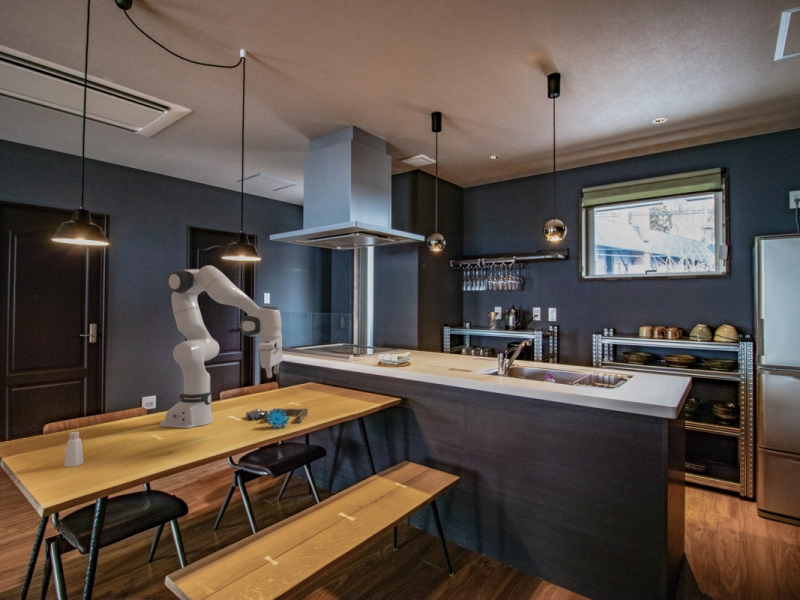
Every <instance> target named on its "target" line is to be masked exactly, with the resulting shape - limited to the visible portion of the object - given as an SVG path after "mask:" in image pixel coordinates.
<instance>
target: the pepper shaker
mask: <svg viewBox="0 0 800 600" xmlns="http://www.w3.org/2000/svg"><path fill="white" fill-rule="evenodd" d="M68 435H69V436H68V438H69V439H68V440H67V443H66V450H65V455H64V457H65V458H64V467H65V468H72V467H77V466H80V465H83V463H84V462H85V461H84V453H83V445H82V444H83V443H82V439H81V438H80V431H72V432H70V433H68Z"/></svg>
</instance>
